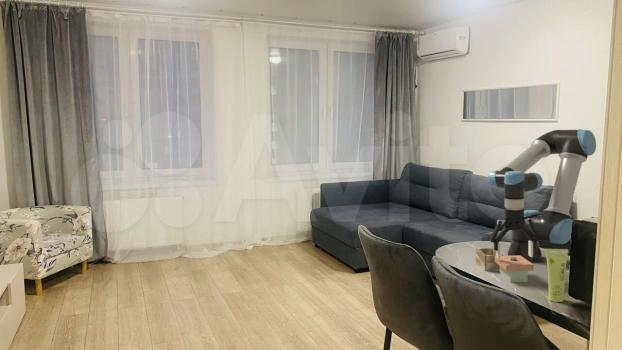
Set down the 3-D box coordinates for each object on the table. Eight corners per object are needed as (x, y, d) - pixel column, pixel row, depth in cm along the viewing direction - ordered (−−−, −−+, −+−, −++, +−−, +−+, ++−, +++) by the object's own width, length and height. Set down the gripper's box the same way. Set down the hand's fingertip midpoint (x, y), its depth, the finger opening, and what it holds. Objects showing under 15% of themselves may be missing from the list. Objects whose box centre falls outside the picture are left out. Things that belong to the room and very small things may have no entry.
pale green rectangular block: (515, 272, 200) (516, 261, 199) (527, 282, 188) (527, 270, 187) (499, 272, 200) (499, 261, 199) (510, 282, 188) (510, 270, 187)
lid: (520, 260, 200) (520, 253, 199) (533, 270, 187) (533, 262, 186) (494, 261, 200) (494, 253, 200) (506, 271, 187) (506, 262, 187)
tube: (556, 304, 165) (557, 251, 163) (544, 299, 170) (545, 248, 167) (567, 301, 167) (568, 249, 165) (554, 296, 172) (555, 246, 170)
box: (493, 262, 215) (493, 247, 214) (502, 270, 203) (503, 255, 202) (476, 262, 215) (476, 248, 214) (484, 270, 203) (484, 255, 202)
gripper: (540, 204, 194) (540, 253, 196) (481, 207, 195) (481, 255, 198) (548, 208, 186) (548, 258, 189) (487, 211, 187) (487, 261, 190)
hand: (514, 257), depth 193 cm, fingers open, 13 cm apart
